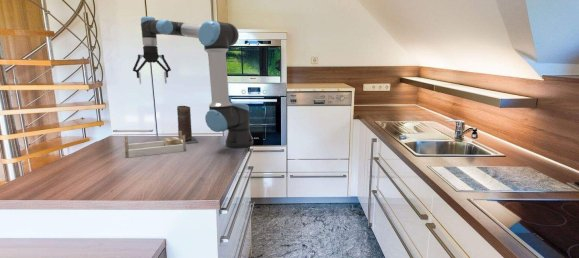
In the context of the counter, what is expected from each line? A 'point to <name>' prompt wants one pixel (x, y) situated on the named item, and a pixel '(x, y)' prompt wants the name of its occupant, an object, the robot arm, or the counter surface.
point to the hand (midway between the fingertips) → (153, 83)
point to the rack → (153, 147)
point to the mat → (191, 141)
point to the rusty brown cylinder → (184, 122)
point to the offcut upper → (172, 141)
